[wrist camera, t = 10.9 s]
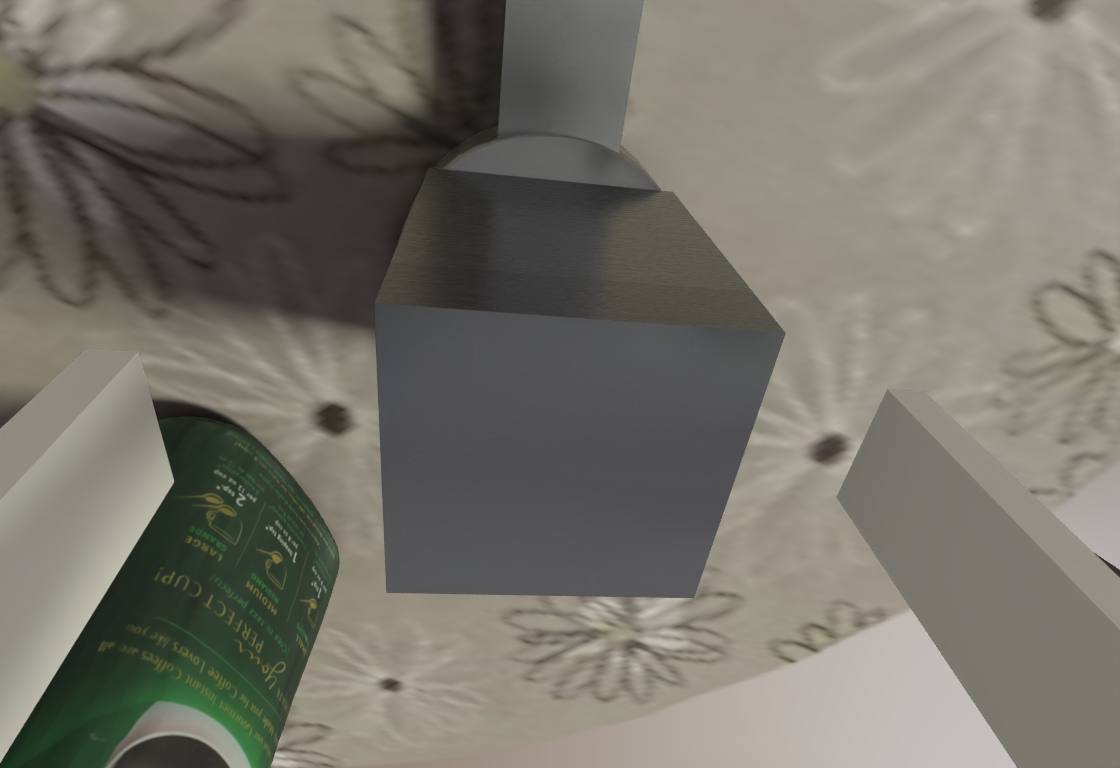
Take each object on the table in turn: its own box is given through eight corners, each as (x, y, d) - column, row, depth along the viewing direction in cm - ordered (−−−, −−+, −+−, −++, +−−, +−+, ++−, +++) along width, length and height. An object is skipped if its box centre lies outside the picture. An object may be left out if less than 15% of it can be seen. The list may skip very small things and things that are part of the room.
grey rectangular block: (427, 380, 18) (386, 592, 12) (429, 167, 15) (373, 302, 9) (630, 392, 19) (693, 598, 13) (672, 191, 16) (785, 332, 9)
